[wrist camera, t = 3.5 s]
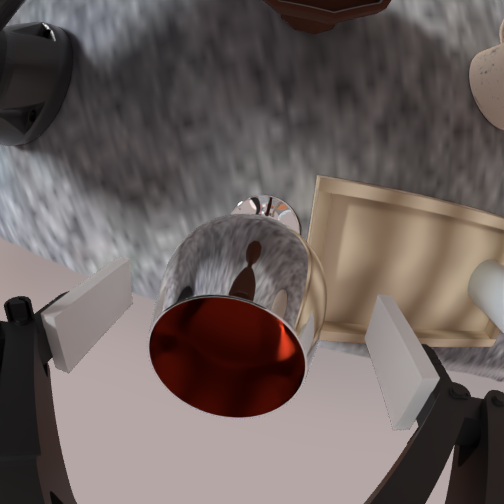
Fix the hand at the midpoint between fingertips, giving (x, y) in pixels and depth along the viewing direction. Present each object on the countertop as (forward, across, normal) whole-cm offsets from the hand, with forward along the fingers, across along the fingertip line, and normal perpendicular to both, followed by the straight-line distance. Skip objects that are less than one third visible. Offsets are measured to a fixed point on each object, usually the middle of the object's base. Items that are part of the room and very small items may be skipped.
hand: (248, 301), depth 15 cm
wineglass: (+13, 0, 0) cm, 13 cm away
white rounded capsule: (+12, +24, -1) cm, 26 cm away
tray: (+13, +16, -1) cm, 20 cm away
